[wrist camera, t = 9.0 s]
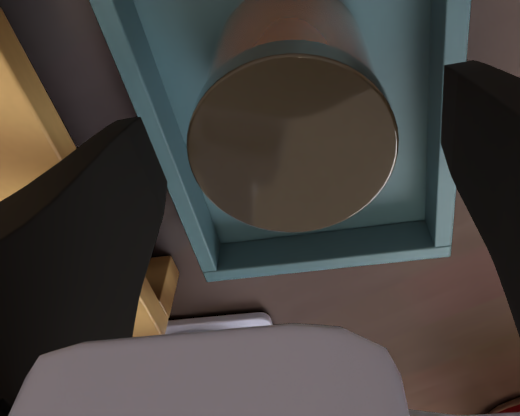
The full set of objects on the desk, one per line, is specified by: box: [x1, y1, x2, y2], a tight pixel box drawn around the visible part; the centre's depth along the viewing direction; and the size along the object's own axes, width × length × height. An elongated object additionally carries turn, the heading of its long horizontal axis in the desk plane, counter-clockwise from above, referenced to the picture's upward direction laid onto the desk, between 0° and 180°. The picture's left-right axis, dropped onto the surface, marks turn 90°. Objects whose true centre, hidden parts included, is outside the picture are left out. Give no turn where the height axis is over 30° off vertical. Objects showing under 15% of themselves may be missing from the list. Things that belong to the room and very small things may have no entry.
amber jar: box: [186, 0, 399, 232], centre depth 12 cm, size 5×5×5 cm
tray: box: [89, 0, 471, 282], centre depth 14 cm, size 15×9×2 cm, turn 12°
